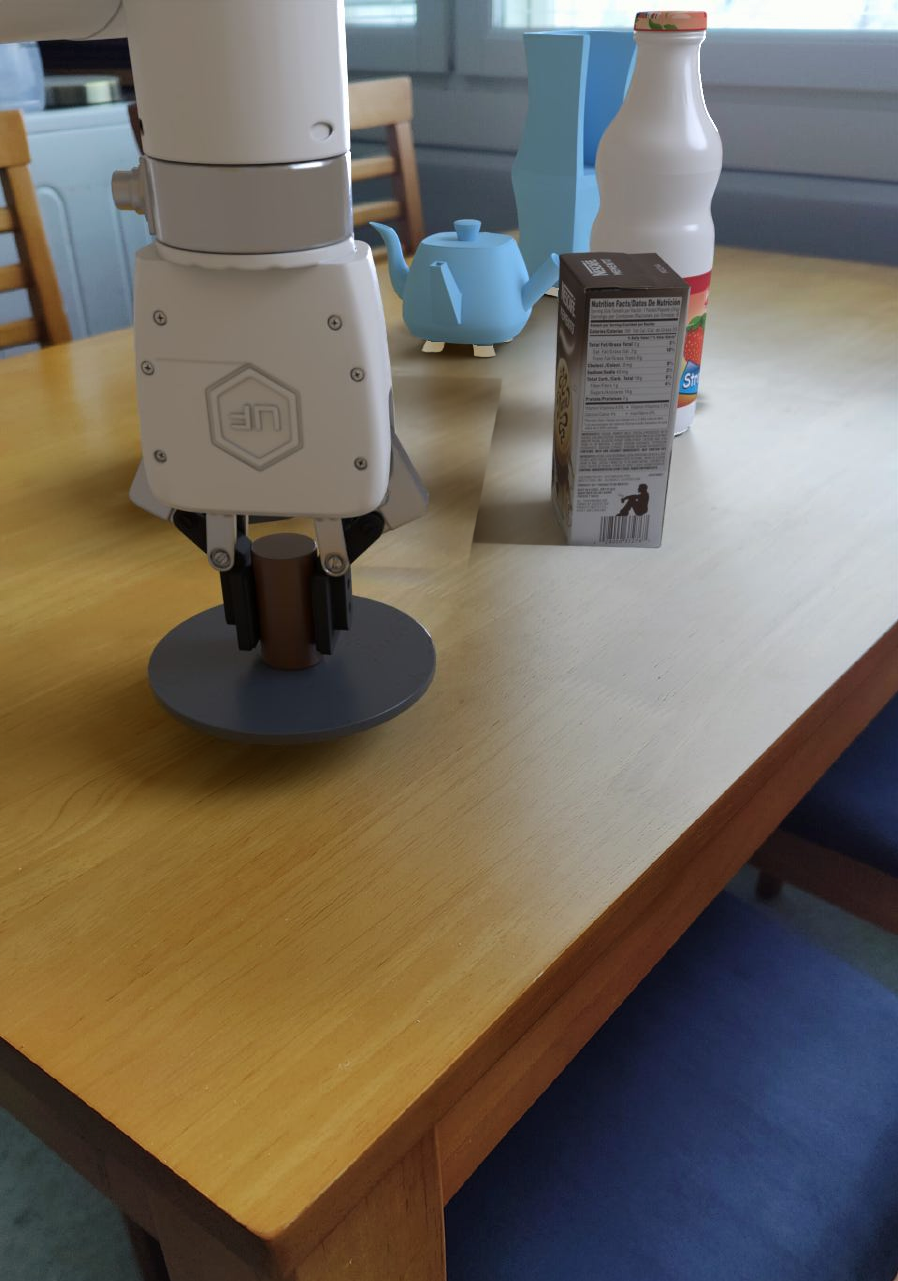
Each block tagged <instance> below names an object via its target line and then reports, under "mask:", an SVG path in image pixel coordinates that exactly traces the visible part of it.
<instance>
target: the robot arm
mask: <svg viewBox="0 0 898 1281" xmlns="http://www.w3.org/2000/svg"><path fill="white" fill-rule="evenodd" d="M345 14H346V13H345V0H0V45H7V44H20V43H30V42H41V41H59V40H67V41H73V42H79V41H81V42H82V41H97V40H108V39H109V40H110V39H111V40H112V39H123V38H127V42H128V50H129V57H130V58H129V59H130V65H131V72H132V79H133V80H132V81H133V88H134V94H135V102H136V108H137V115H138V123H139V130H140V137H141V146H142V152H143V153H144V155H141V156H139V157H138V162H139V164H138V166H133V167H132V168H131V169H130V170H115V171H112V172H113V173H112V176H111V182H110V183H111V184H110V185H111V196H112V199H113V203H114V206H115V207H116V209H117V210H118V211H134V212H135V213H136V214H137V215H140V216H144V218H145V221H146V222H147V225H148V234H149V235H150V236H155V238H154V239H155V241H153V242H151V243H149V244H147V245H145V246H143V247H141V248H139V249H138V250H136V251H135V256H134V266H133V267H134V269H133V299H132V300H133V302H132V304H133V309H132V310H133V317H132V318H133V344H134V346H133V347H134V348H133V349H134V364H135V366H134V367H135V369H134V370H135V380H136V382H135V383H136V385H135V386H136V398H137V410H138V421H139V422H138V423H139V433H140V434H139V435H140V441H141V443H140V444H141V450H142V456H141V459H140V462H139V464H138V466H137V470H136V471H135V472H136V473H135V475H134V477H133V480H132V483H131V485H130V488H129V491H128V496H129V500H130V501H131V503H132V504H134V505H135V506H137V507H139V508H140V509H142V510H144V511H146V512H147V513H150V514H151V515H154V516H156V517H158V518H160V519H161V520H163V521H165V522H168V521H169V522H170V523H172V524H173V525H174V527H176V529H177V530H178V531H179V532H180V533H181V534H183V535H184V536H185V537H186V538H187V539H188V540H189V541H191V542H192V543H193V544H194V545H195V546H196V547H197V548H198V549H200V550H201V551H202V552H203V553H204V554H205V555H206V559H207V562H208V564H209V566H210V567H211V568H212V569H213V570H215V571H217V572H219V580H220V588H221V595H222V604H224V612H225V619H226V623H227V624H228V625H236V632H237V640H238V647H239V650H241V651H251V650H252V648H256V646H257V644H258V642H259V640H260V636H259V627H258V618H257V609H256V600H255V591H254V582H253V573H252V564H251V554H250V547H251V545H252V543H253V541H252V540H251V538H250V537H249V524H248V515H257V516H281V517H294V518H307V519H308V518H312V520H313V525H314V531H315V536H316V543H317V549H318V558H317V567H316V568H315V571H314V573H313V575H312V579H311V590H312V603H313V616H314V629H315V642H316V651H319V652H320V654H321V655H332V654H333V651H334V649H335V646H336V643H337V640H338V637H339V634H340V632H341V630H348V631H349V630H350V628H351V625H352V620H353V599H352V595H353V583H352V582H353V581H352V580H353V579H352V564H353V563H354V562H355V561H356V560H357V559H358V558H360V557H361V556H362V555H363V554H364V553H365V552H367V550H368V549H369V548H370V547H371V546H372V545H373V544H374V543H375V542H377V540H379V539H380V538H381V536H382V535H384V534H386V533H389V532H390V531H391V532H392V531H395V530H397V529H399V528H401V527H403V526H405V525H407V524H410V523H411V522H414V521H415V520H418V519H420V518H422V517H423V516H424V515H425V514H426V512H427V509H428V506H429V502H430V494H429V491H428V489H427V487H426V486H425V484H424V482H423V480H422V478H421V476H420V474H419V473H418V471H417V469H416V467H415V465H414V463H413V462H412V460H411V458H410V456H409V455H408V453H407V451H406V449H405V448H404V446H403V444H402V442H401V440H400V438H399V437H398V435H397V433H396V432H397V431H396V415H395V403H394V391H393V390H394V389H393V381H392V370H391V369H392V368H391V358H390V353H389V352H390V351H389V343H388V335H387V326H386V320H385V312H384V306H383V301H382V300H383V299H382V296H381V290H380V285H379V280H378V274H377V269H376V265H375V260H374V257H373V253H372V249H371V246H370V245H369V243H368V242H365V241H363V240H360V239H359V240H357V239H355V232H354V231H355V230H354V211H353V210H354V209H353V208H354V207H353V187H352V186H353V184H352V162H351V161H352V160H351V132H350V108H349V106H350V105H349V86H348V84H349V83H348V82H349V81H348V63H347V60H348V59H347V40H346V39H347V36H346V16H345Z"/></svg>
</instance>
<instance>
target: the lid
mask: <svg viewBox="0 0 898 1281" xmlns="http://www.w3.org/2000/svg"><path fill="white" fill-rule="evenodd" d="M250 554H251V564H252V573H253V582H254V591H255V600H256V609H257V618H258V627H259V636H260V640H259V642H258V644H257V646H256V648H252V650H251V651H241V650H239V647H238V640H237V632H236V625H228V624H227V623H226V619H225V612H224V604H223V603H221V604H218V605H216V606H213V607H210V608H207V609H205V610H203V611H200V612H198V613H196V614H194V615H191V616H190V617H189V618H187V619H185V620H184V621H181V622H180V623H179V624H177V625H176V626H174V627H173V628H172V629H171V630H169V631H168V632H167V633H166V634H165V635H164V636H163V637H162V638H161V639H160V640H159V642H158V643H157V644H156V646H155V647H154V648H153V651H152V653H151V655H150V656H149V658H148V659H149V660H148V664H147V680H148V685H149V688H150V692H151V695H152V697H153V699H154V700H155V702H156V703H157V705H158V706H159V707H160V708H161V709H162V711H164V712H165V713H166V714H167V715H168V716H169V717H171V718H172V719H174V720H175V721H176V722H178V723H179V724H182V725H183V726H186V727H187V728H189V729H191V730H194V731H197V732H199V733H202V734H204V735H206V736H207V735H208V736H210V737H214V738H217V739H222V740H226V741H233V742H237V743H244V744H255V745H270V746H271V745H272V746H273V745H275V746H277V745H278V746H279V745H280V746H286V745H305V744H312V743H319V742H326V741H331V740H336V739H341V738H346V737H349V736H352V735H357V734H359V733H363V732H366V731H369V730H371V729H373V728H376V727H378V726H381V725H383V724H385V723H386V722H389V721H391V720H392V719H395V718H397V717H398V716H400V715H401V714H403V713H404V712H407V711H408V710H409V709H410V708H411V707H412V706H413V705H415V704H416V703H418V701H420V699H421V698H423V696H424V695H425V694H426V692H428V689H429V688H430V686H431V684H432V683H433V681H434V678H435V675H436V672H437V671H436V670H437V651H436V646H435V642H434V640H433V639H432V637H431V634H430V633H429V632H428V630H426V628H425V626H423V625H422V624H421V623H420V622H419V621H418V620H417V619H415V618H414V617H412V616H411V615H409V614H408V613H407V612H404V611H403V610H400V609H399V608H397V607H395V606H393V605H390V604H387V603H384V602H382V601H379V600H375V599H372V598H368V597H364V596H359V595H354V594H352V599H353V620H352V625H351V628H350V630H349V631H348V630H341V632H340V634H339V637H338V640H337V643H336V646H335V649H334V651H333V654H332V655H321V654H320V652H319V651H316V642H315V629H314V616H313V603H312V590H311V579H312V575H313V573H314V571H315V568H316V567H317V558H318V556H319V551H318V543H317V541H316V540H315V539H314V538H312V537H311V536H308V535H306V534H301V533H296V532H277V533H271V534H267V535H263V536H261V537H259V538H257V539H256V540H254V541H252V545H251V547H250Z"/></svg>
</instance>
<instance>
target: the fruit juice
mask: <svg viewBox="0 0 898 1281" xmlns="http://www.w3.org/2000/svg"><path fill="white" fill-rule="evenodd" d="M707 30H708V13H707V11H702V10H649V11H648V10H647V11H639V12H636V14H635V17H634V24H633V31H635V32H634V34H635V36H634V41H636V42H637V57H636V63H635V67H634V71H633V75H632V78H631V82H630V85H629V88H628V91H627V94H626V96H625V99H624V101H623V104H622V106H621V108H620V110H619V112H618V113H617V115H616V116H615V118H614V119H613V120H612V122H611V123H610V124H609V126H608V127H607V129H606V130H605V132H604V134H603V135H602V137H601V139H600V142H599V145H598V149H597V155H596V163H595V171H596V179H597V185H598V190H599V196H600V203H599V209H598V213H597V215H596V217H595V220H594V222H593V225H592V229H591V235H590V242H589V251H588V252H616V253H626V254H639V253H657V254H658V255H659V256H660V257H661V258H662V259H663V260H664V261H665V262H666V263H667V264H668V265H669V266H670V267H671V268H672V269H673V270H674V271H675V272H676V273H677V274H678V275H679V276H680V277H681V278H683V279H684V280H685V281H686V282H687V283H688V284H689V285H690V286H691V288H690V296H689V306H688V315H687V324H686V333H685V342H684V351H683V361H682V370H681V378H680V387H679V396H678V404H677V413H676V422H675V430H674V433H677V432H681V431H683V430H685V429H687V428H688V427H689V426H690V425H691V426H692V424H693V421H694V417H695V414H696V408H697V398H698V390H699V381H700V375H701V374H700V372H701V365H702V358H703V357H702V356H703V355H702V354H703V348H704V347H703V346H704V338H705V331H706V321H707V312H708V305H709V304H708V303H709V295H710V286H711V279H712V278H711V277H712V272H713V271H712V270H713V264H714V256H715V255H714V254H715V224H714V220H713V217H712V209H711V207H712V200H713V197H714V193H715V190H716V188H717V185H718V182H719V179H720V176H721V172H722V169H723V156H724V155H723V154H724V152H723V143H722V138H721V135H720V132H719V131H718V129H717V127H716V125H715V124H714V122H713V120H712V118H711V117H710V114H709V112H708V110H707V106H706V104H705V99H704V94H703V88H702V87H703V86H702V80H701V73H700V50H701V44H702V43H703V42H704V41H705V39H706V33H707V32H706V31H707ZM691 426H690V427H691Z"/></svg>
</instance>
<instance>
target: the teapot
mask: <svg viewBox="0 0 898 1281" xmlns="http://www.w3.org/2000/svg"><path fill="white" fill-rule="evenodd" d="M369 225H371V227H372V228H373V229H375V230H376V231H377V232H378V233H379V234H380V237H381V238H382V240H383V242H384V245H385V249H386V255H387V256H386V257H387V265H388V274H389V279H390V283H391V286H392V288H393V291H394V293H395V294H396V295H397V297H398V298H399V299H400V300H401V301H402V306H401V307H402V310H401V312H402V313H401V314H402V320H403V323H404V324H405V326H406V328H407V329H408V331H409V332H410V334H411V335H412V336H413V337H415V338H417V339H421V340H425V341H426V340H428V341H431V342H446V343H445V344H447V343H448V344H461V345H473V344H474V345H477V346H492V345H494V344H501V343H500V342H504V341H507V340H510V339H511V338H512V339H513V338H515V337H516V336H518V335H519V334H520V333H521V332H522V330H523V329H524V328H525V326H526V324H527V322H528V321H529V319H530V317H531V314H532V310H533V306H534V305H535V304H536V303H537V302H538V301H539V300H540V299H541V298H542V297H543V296H544V294H545V293H546V292H547V291H548V290H549V289H550V288H551V287H552V286H553V285H554V284H555V282H556V281H557V280H558V279H559V263H560V261H559V256H558V255H557V254H554V253H552V254H551V255H550V257H549V258H548V259H547V260H546V261H545V262H544V263H543V265H542V266H541V267H540V268H539V269H538V270H537V271H536V272H535V274H534V275H533V276H532V277H531V278H530V279H529V277H528V273H527V270H526V266H525V263H524V261H523V258H522V255H521V253H520V250H519V247H518V243H517V241H516V239H515V237H513V236H512V235H510V234H503V233H495V232H490V231H480V229H481V225H482V222H481V221H480V220H477V219H472V218H471V219H467V218H465V219H458V220H455V221H454V222H453V226H454V227H453V228H454V229H455V231H443V232H438V233H433V234H431V235H429V236H427V237H425V238H424V239H422V240H421V242H419V243H418V246H417V248H416V251H415V253H414V256H413V259H412V261H411V264H410V266H408V265H407V262H406V261H405V258H404V255H403V250H402V245H401V242H400V238H399V236H398V234H397V233H396V231H395V230H394V229H393V228H392V227H390V226H388V225H386V224H384V223H383V224H382V223H379V222H375V221H369Z"/></svg>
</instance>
